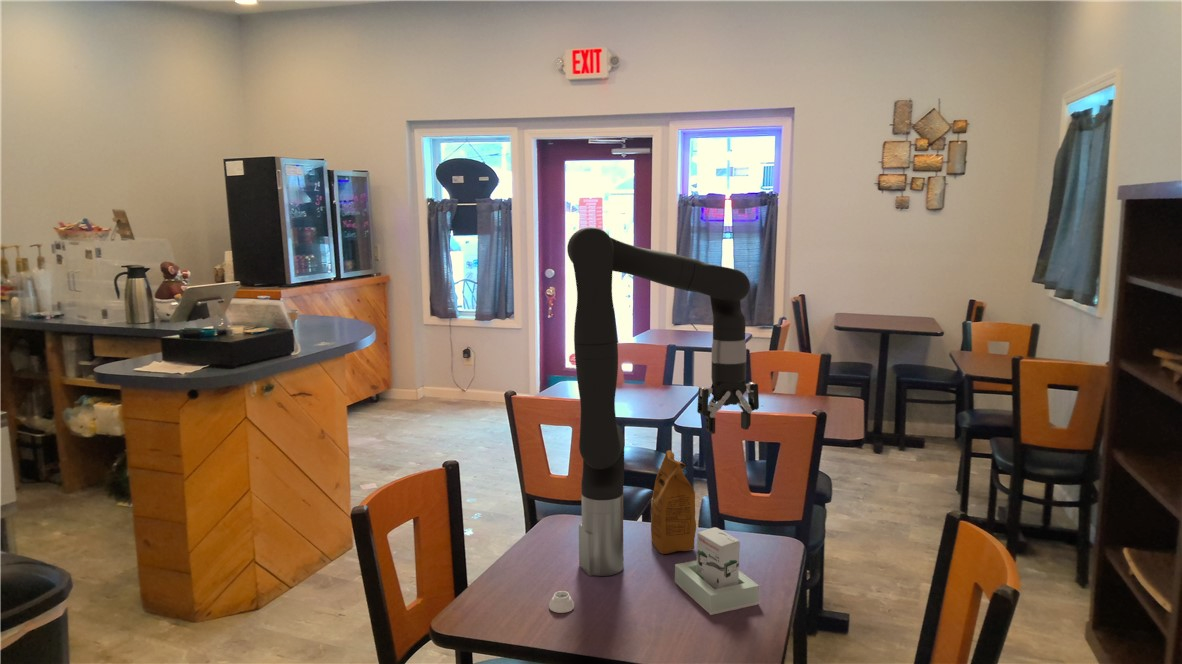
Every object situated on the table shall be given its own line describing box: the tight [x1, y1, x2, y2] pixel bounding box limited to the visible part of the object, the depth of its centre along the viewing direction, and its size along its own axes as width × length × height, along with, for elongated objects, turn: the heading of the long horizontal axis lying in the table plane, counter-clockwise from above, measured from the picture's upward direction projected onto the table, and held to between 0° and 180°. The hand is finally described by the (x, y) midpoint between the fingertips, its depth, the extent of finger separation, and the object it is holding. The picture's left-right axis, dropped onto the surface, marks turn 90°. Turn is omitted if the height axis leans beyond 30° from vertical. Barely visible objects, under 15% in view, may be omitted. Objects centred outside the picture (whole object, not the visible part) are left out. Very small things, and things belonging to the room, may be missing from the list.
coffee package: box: [650, 449, 697, 555], centre depth 180 cm, size 10×12×22 cm
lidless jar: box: [548, 590, 575, 614], centre depth 152 cm, size 5×3×5 cm
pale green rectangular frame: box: [674, 559, 760, 616], centre depth 157 cm, size 11×15×4 cm
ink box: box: [696, 527, 741, 589], centre depth 157 cm, size 9×5×12 cm, turn 30°
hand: (728, 431), depth 169 cm, fingers open, 8 cm apart
